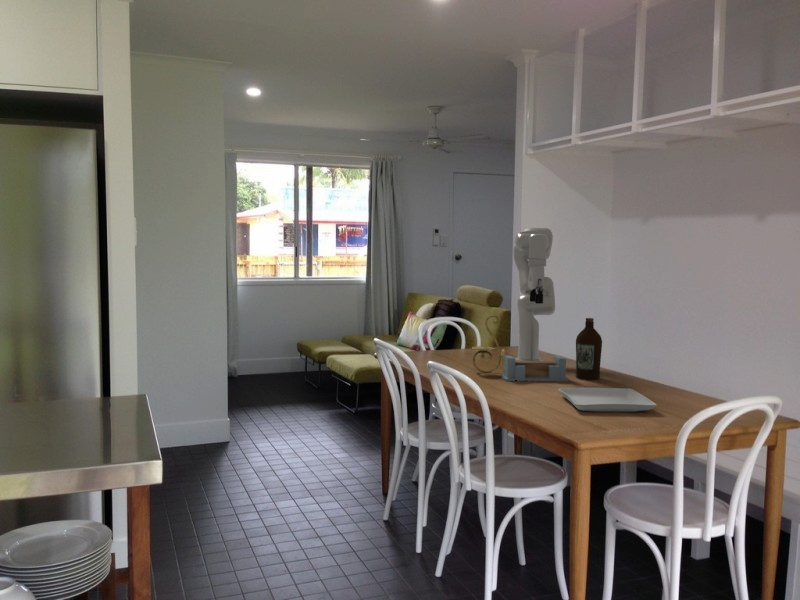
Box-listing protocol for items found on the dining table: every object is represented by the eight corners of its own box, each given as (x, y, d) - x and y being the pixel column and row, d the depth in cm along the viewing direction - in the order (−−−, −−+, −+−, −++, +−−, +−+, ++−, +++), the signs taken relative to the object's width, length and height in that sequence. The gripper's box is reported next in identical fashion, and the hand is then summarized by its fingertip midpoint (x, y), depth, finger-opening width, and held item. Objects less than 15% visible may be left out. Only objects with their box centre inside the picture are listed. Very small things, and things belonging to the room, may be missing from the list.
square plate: (630, 397, 260) (631, 387, 260) (657, 415, 233) (658, 404, 233) (556, 396, 260) (557, 386, 260) (575, 414, 233) (576, 403, 232)
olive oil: (579, 374, 303) (581, 316, 301) (604, 377, 297) (606, 318, 295) (570, 378, 294) (572, 318, 292) (596, 381, 288) (598, 320, 286)
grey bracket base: (500, 376, 297) (501, 355, 296) (561, 376, 298) (562, 355, 297) (505, 381, 287) (506, 359, 286) (568, 381, 288) (569, 359, 287)
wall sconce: (501, 370, 310) (502, 313, 308) (505, 374, 301) (506, 316, 299) (469, 370, 310) (471, 313, 308) (472, 374, 300) (474, 315, 298)
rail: (514, 375, 294) (514, 361, 293) (552, 375, 295) (552, 361, 294) (516, 377, 290) (516, 362, 289) (554, 377, 291) (555, 362, 290)
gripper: (524, 262, 313) (523, 300, 314) (533, 263, 296) (532, 304, 297) (540, 262, 314) (539, 300, 315) (551, 263, 296) (550, 304, 298)
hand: (536, 302), depth 306 cm, fingers open, 9 cm apart
